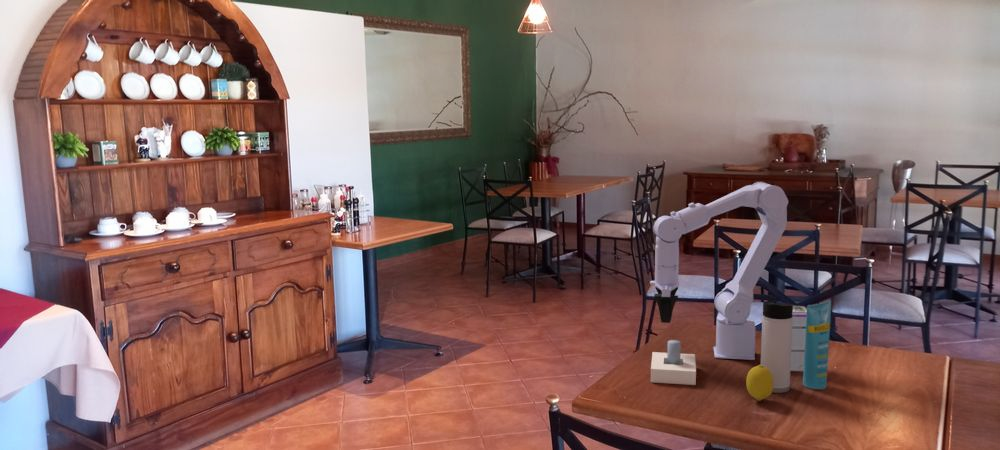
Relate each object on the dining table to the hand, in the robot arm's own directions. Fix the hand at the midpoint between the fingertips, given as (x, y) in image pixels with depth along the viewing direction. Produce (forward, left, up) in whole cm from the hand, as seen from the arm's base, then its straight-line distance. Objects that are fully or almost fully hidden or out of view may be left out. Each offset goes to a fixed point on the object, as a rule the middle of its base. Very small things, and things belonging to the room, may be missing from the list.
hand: (666, 318), depth 191 cm
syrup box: (-30, +3, -10) cm, 32 cm away
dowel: (-2, +13, -9) cm, 16 cm away
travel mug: (-24, +18, -10) cm, 32 cm away
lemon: (-20, +26, -10) cm, 34 cm away
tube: (-33, +15, -10) cm, 38 cm away
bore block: (-2, +13, -10) cm, 16 cm away
